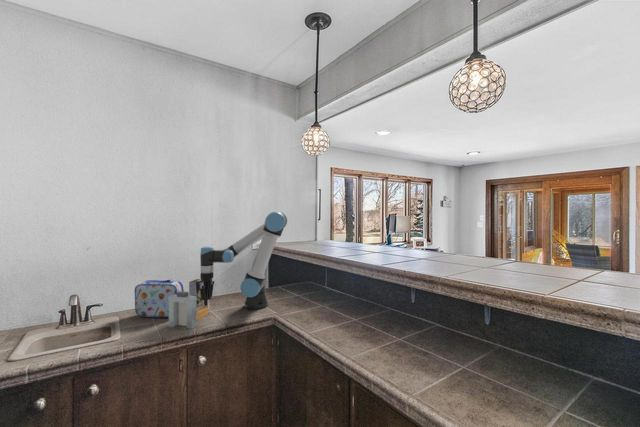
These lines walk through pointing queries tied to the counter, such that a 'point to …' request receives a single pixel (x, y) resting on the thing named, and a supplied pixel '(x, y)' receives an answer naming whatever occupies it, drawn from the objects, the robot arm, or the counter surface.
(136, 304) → the lunch box
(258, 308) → the robot arm
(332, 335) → the counter surface
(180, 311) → the plug
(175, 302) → the housing
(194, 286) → the coffee box
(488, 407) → the counter surface
